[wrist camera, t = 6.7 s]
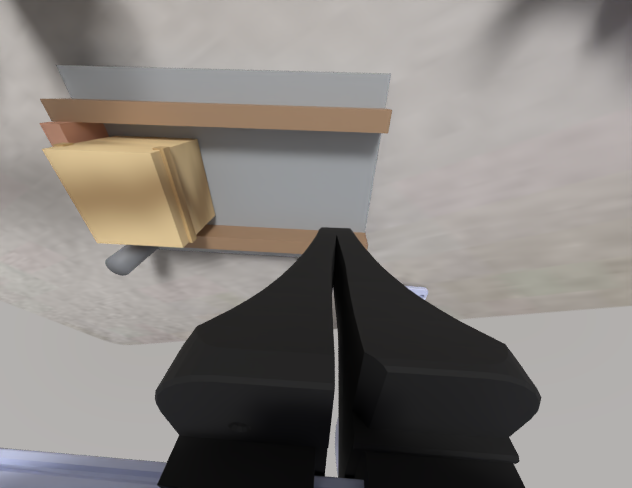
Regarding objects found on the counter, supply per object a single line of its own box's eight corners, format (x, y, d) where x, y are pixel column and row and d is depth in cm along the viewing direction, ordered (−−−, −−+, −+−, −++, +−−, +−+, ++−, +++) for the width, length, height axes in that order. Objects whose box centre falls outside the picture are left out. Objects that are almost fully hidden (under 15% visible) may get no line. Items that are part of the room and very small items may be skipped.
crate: (217, 216, 20) (186, 249, 15) (145, 212, 20) (95, 244, 16) (199, 137, 16) (153, 151, 12) (112, 133, 16) (37, 146, 12)
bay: (359, 254, 22) (365, 291, 18) (149, 242, 23) (107, 275, 19) (387, 75, 15) (409, 66, 10) (71, 66, 15) (-28, 55, 11)
